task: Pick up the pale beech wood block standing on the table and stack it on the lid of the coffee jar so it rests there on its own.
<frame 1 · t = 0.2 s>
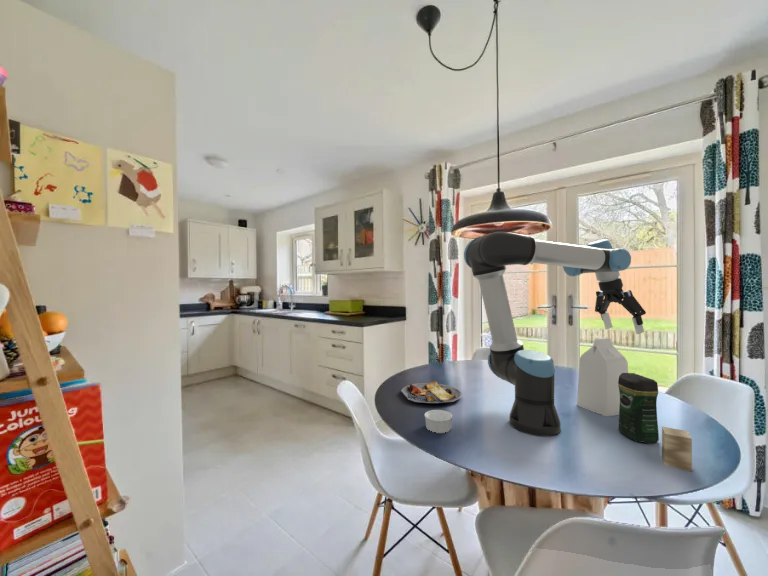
hand: (624, 330, 126), 28 cm above the table, tool tilted 20°, fingers open, 13 cm apart
coffee jar: (637, 437, 97), on the table
milk: (602, 409, 119), on the table
food plate: (430, 397, 134), on the table
ramekin: (438, 428, 104), on the table
beech block: (676, 463, 82), on the table
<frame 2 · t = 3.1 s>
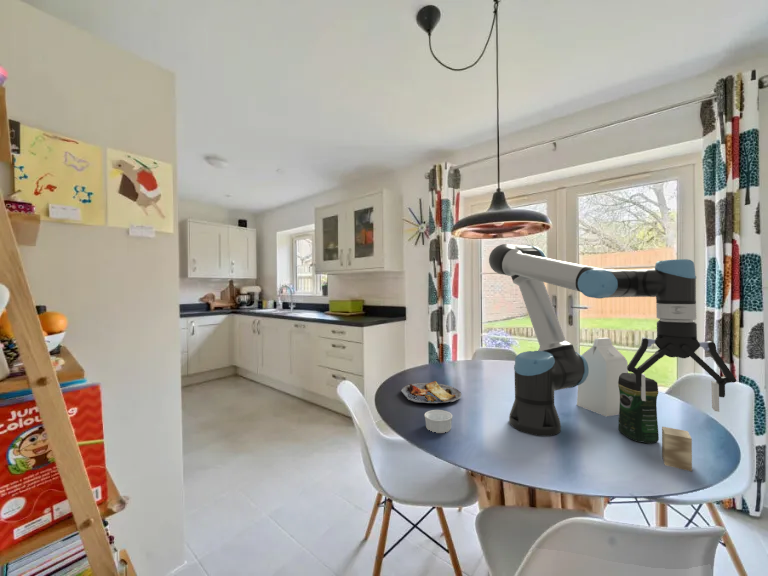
hand: (677, 404, 82), 15 cm above the table, tool pointing down, fingers open, 13 cm apart
nothing on the table moved.
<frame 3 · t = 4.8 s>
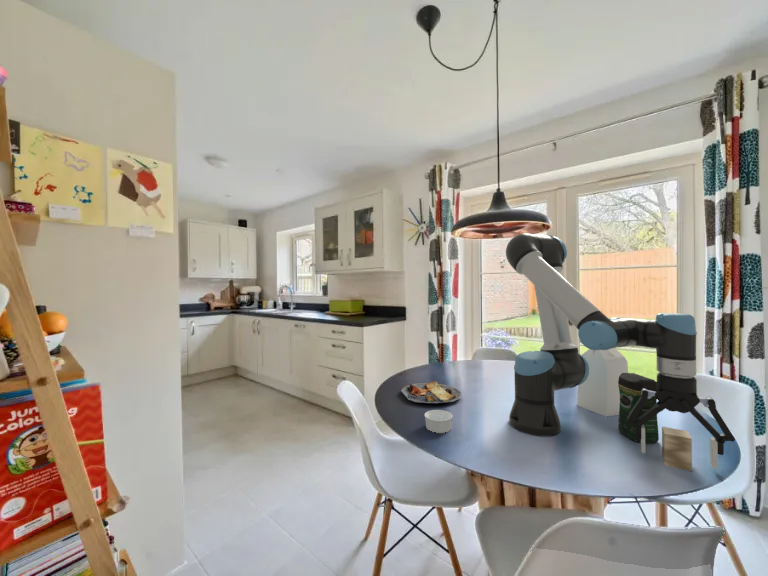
hand: (676, 458, 82), 1 cm above the table, tool pointing down, fingers open, 13 cm apart
nothing on the table moved.
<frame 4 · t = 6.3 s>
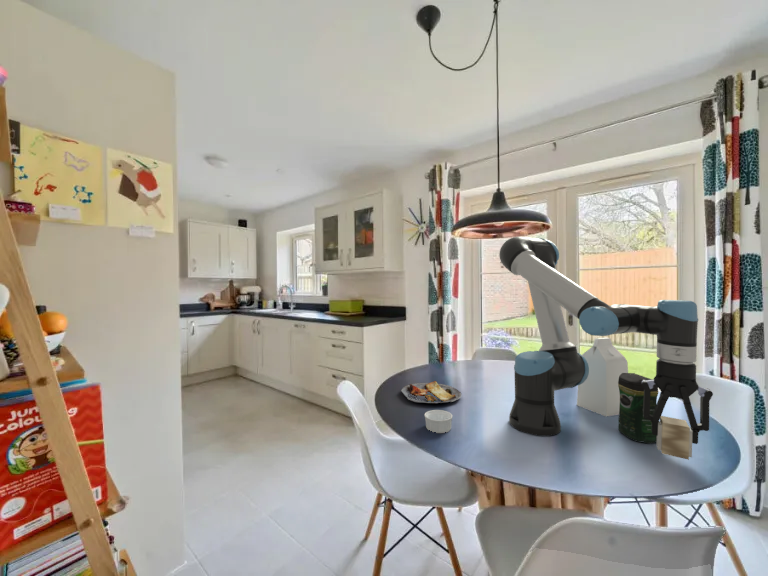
hand: (673, 450, 82), 3 cm above the table, tool pointing down, fingers closed on beech block, 5 cm apart
beech block: (673, 452, 82), point 3 cm above the table, touching gripper
everything else where it was.
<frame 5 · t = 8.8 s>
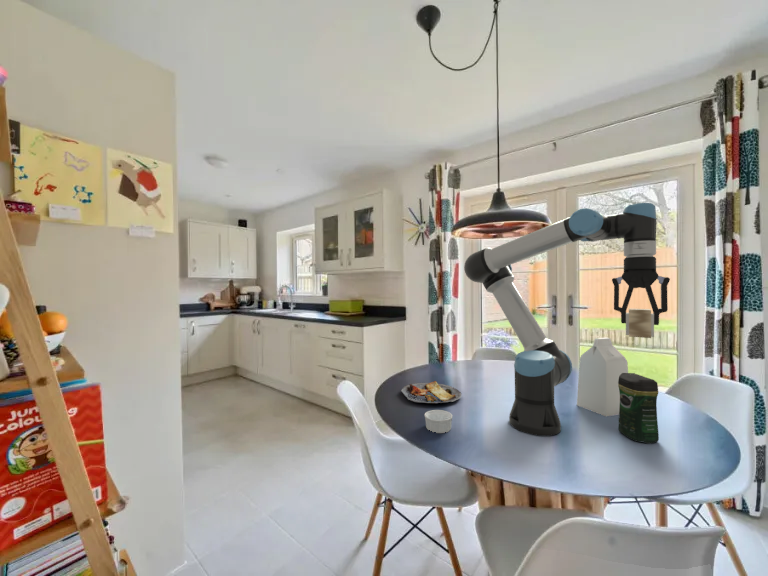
hand: (639, 335, 95), 31 cm above the table, tool pointing down, fingers closed on beech block, 5 cm apart
beech block: (639, 336, 95), point 30 cm above the table, touching gripper
everything else where it was.
when the fingers open (20 cm above the table, at t = 11.2 s): beech block stays where it is, resting on coffee jar.
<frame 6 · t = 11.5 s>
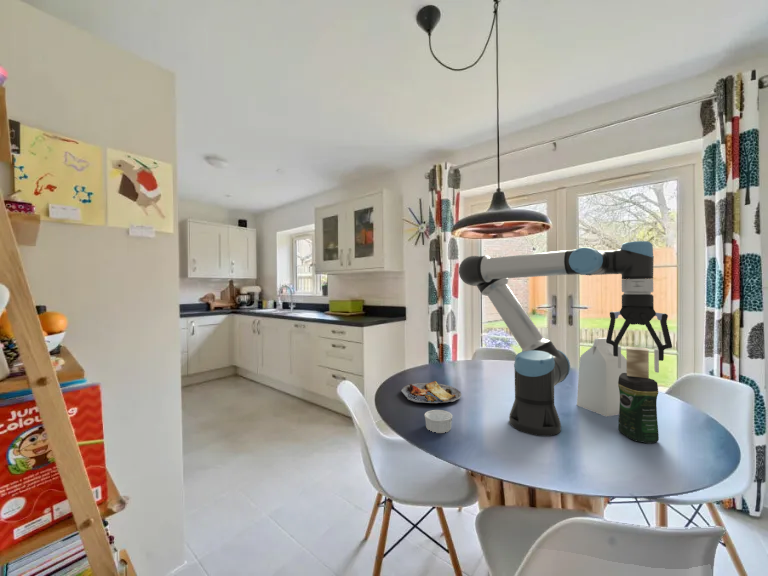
hand: (637, 369, 97), 20 cm above the table, tool pointing down, fingers open, 8 cm apart
coffee jar: (637, 437, 97), on the table, touching beech block
beech block: (637, 375, 97), point 18 cm above the table, touching coffee jar
everything else where it was.
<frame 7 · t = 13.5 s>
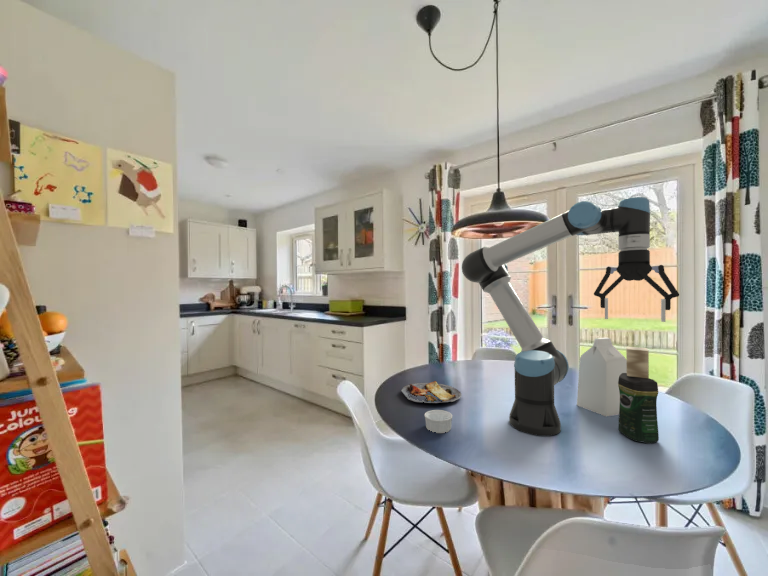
hand: (633, 320, 98), 35 cm above the table, tool pointing down, fingers open, 13 cm apart
nothing on the table moved.
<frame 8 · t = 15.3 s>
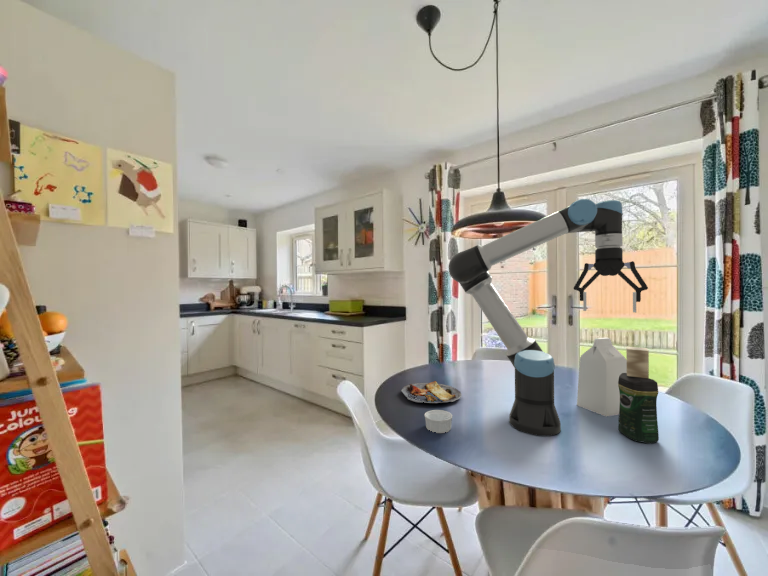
hand: (608, 311, 108), 37 cm above the table, tool pointing down, fingers open, 13 cm apart
nothing on the table moved.
at the end: beech block inside the target area on the coffee jar (0.1 cm from its centre), point 18.7 cm above the coffee jar's base; beech block tilted 0°; the gripper is holding nothing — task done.
